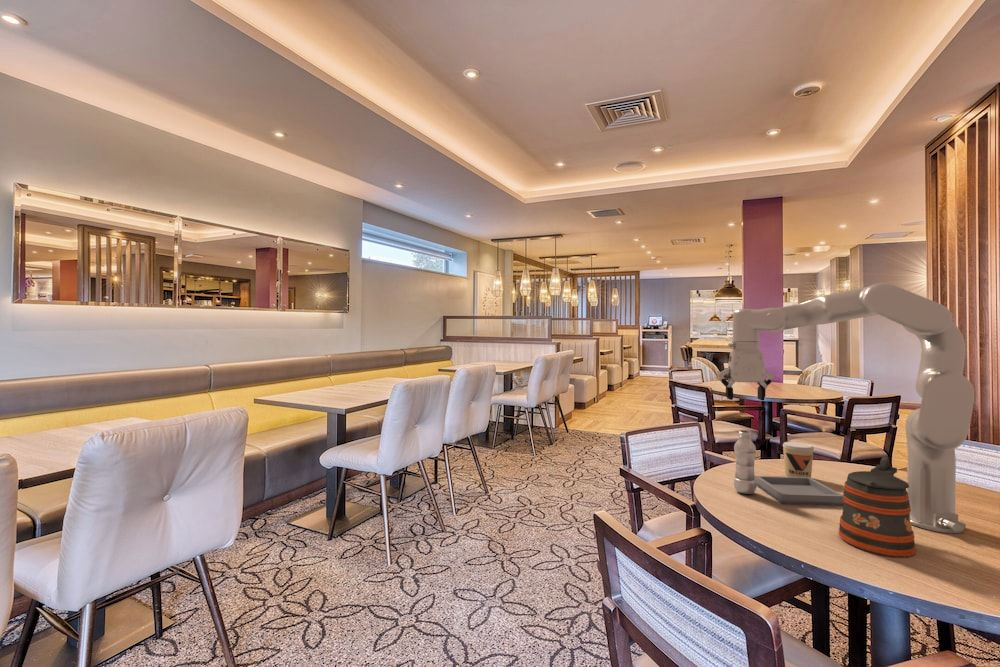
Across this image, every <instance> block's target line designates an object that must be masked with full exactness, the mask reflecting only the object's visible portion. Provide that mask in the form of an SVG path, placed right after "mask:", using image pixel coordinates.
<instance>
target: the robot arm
mask: <svg viewBox="0 0 1000 667" xmlns="http://www.w3.org/2000/svg"><path fill="white" fill-rule="evenodd" d="M878 315H879V316H881V317H883V318H885V319H888V320H890V321H892V322H895V323H897V324H899V325H901V326H902V327H903V328H904V329H905V330H906V331H907V332H909V333H911V334H912V335H914V336H916V337H917V339H918V340H919V341H920V348H921V352H920V362H919V367H918V372H917V377H916V380H915V391H916V393H917V395H918V397H920V398H921V403H920V407H919V408H916V409H914V410H912V411H911V412H910V413H909V414H908V415H907V417H906V420H905V436H906V447H907V448H906V450H907V464H906V465H907V470H906V471H907V474H906V475H907V480H906V482H907V483H908V485H909V488H906V491H907V492H908V496H909V503H910V509H911V512H910V519H911V526H914V527H918V528H920V529H924V530H929V531H932V532H938V533H945V534H959V533H963V532H964V531H965V528H967V525H966V523H963V522H962V521H959V514H957V513H956V479H957V478H956V471H957V468H956V466H957V465H956V462H957V461H956V451H955V450H956V449H957V448H959V447H961V445H963V444H964V442H966V440H967V437H968V435H969V431H970V425H971V420H972V415H973V410H974V409H973V408H974V404H975V389H974V386H973V384H972V383H971V381H970V380H969V379H968V378H967V377H966V376H965V375H963V374H964V369H965V361H966V360H965V359H966V341H965V338H964V335H963V333H962V331H961V330H960V328H959V327H958V326H957V324H956V323H955V322H953V318H954V317H953V314H952V312H951V310H950V309H949V308H947V307H946V306H945V305H943V304H941V303H938V302H937V301H935V300H932V299H929V298H926V297H924V296H921V295H919V294H916V293H914V292H911V291H910V290H906V289H904V288H902V287H899V286H897V285H895V284H891V283H887V282H878V283H874V284H872V285H869V286H866V287H860V288H855V289H850V290H845V291H841V292H836V293H835V292H834V293H830V294H824V295H821V296H818V297H815V298H813V299H810V300H806V301H804V302H801V303H796V304H792V305H788V306H782V307H767V308H759V309H754V308H742V309H741V308H740V309H736V310H734V311H733V314H732V341H731V342H730V343H728V346H727V347H728V348H731V351H730V353H729V358H728V364H727V368H726V369H723V370H722V371H719V372H718V373H717V377H718V379H719V382H721V384H722V385H723V386H724V387H725V397H726V398H727V400H730V401H731V400H732V401H733V400H734V387H732V386H733V385H734V384H736V383H756V384H757V385H758V387H757V399H758V400H760V401H765V398H766V390H767V388H768V386H769V385H770V384H771V383H772V381H773V379H774V378H775V374H774V373H773V372H770V371H768V370H766V369H765V360H764V355H763V351H760V331H763V332H773V333H775V332H779V331H780V332H781V331H785V330H791V329H795V328H796V329H797V328H802V327H803V328H804V327H808V326H817V325H828V324H834V323H839V322H844V321H851V320H856V319H861V318H867V317H873V316H878ZM726 375H727V380H726V379H725V377H724V376H726Z"/></svg>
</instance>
